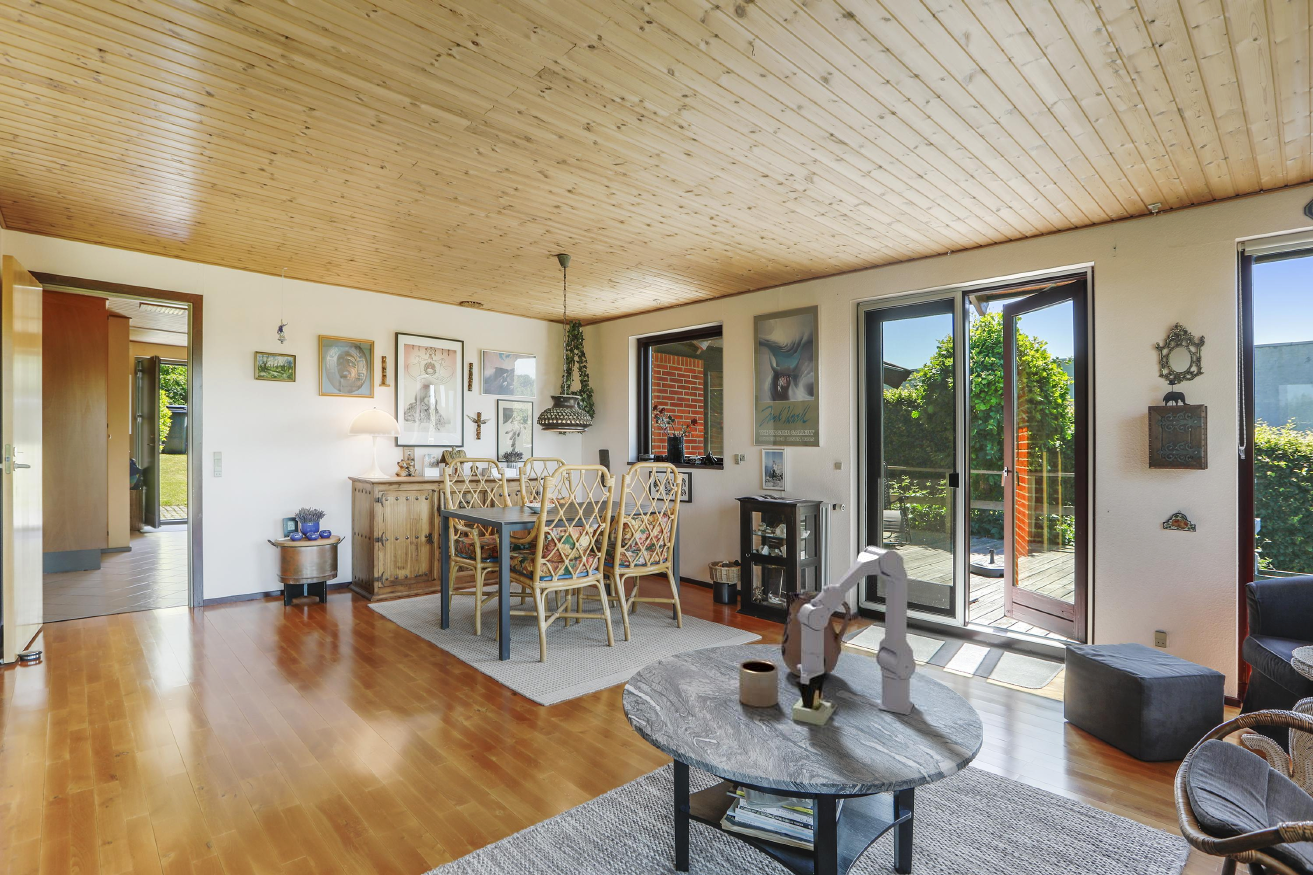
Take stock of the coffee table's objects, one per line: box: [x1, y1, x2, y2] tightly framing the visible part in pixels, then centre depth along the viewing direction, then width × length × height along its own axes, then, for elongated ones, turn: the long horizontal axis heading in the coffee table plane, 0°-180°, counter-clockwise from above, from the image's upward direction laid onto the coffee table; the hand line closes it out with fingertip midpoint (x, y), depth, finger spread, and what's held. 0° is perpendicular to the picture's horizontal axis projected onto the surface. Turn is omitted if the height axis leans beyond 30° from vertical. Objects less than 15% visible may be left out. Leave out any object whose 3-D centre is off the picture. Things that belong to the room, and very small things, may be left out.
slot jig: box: [792, 692, 838, 727], centre depth 170 cm, size 14×8×3 cm, turn 151°
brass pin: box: [807, 689, 819, 711], centre depth 168 cm, size 3×3×7 cm
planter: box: [738, 659, 779, 709], centre depth 179 cm, size 11×11×10 cm
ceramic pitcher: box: [780, 590, 852, 678], centre depth 200 cm, size 18×21×25 cm
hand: (812, 702), depth 168 cm, fingers open, 7 cm apart
